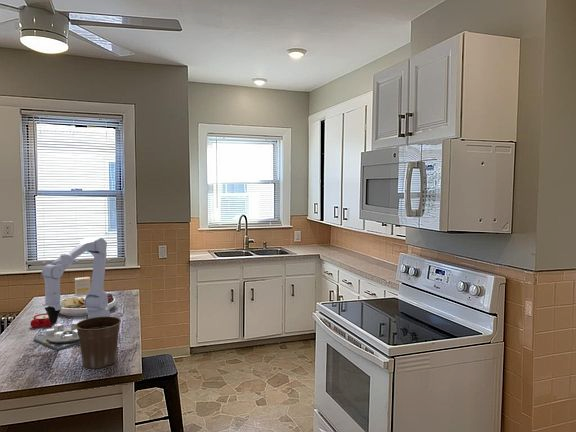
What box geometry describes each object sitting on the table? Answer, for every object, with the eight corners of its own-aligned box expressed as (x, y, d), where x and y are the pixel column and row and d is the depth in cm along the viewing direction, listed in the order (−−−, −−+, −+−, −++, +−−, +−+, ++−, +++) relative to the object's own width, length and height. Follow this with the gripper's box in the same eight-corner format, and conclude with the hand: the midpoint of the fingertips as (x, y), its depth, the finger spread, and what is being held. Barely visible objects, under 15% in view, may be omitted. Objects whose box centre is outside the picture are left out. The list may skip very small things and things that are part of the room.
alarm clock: (58, 312, 225) (52, 314, 211) (58, 325, 224) (51, 327, 210) (35, 313, 222) (27, 315, 208) (35, 326, 221) (27, 329, 207)
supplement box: (89, 297, 269) (89, 276, 268) (90, 299, 264) (90, 278, 264) (74, 299, 264) (74, 277, 264) (75, 301, 260) (75, 279, 259)
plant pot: (71, 373, 162) (70, 330, 160) (81, 356, 177) (80, 317, 176) (118, 369, 165) (117, 327, 164) (123, 353, 181) (123, 315, 180)
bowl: (62, 321, 222) (62, 306, 221) (50, 308, 245) (50, 294, 245) (122, 312, 241) (122, 297, 240) (106, 300, 264) (105, 287, 264)
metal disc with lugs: (38, 338, 194) (38, 329, 194) (74, 327, 208) (74, 319, 208) (60, 345, 185) (60, 336, 185) (96, 334, 199) (96, 326, 199)
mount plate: (77, 328, 211) (76, 326, 210) (101, 337, 199) (101, 334, 199) (33, 340, 194) (33, 337, 194) (57, 350, 183) (57, 347, 183)
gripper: (37, 290, 191) (38, 321, 192) (47, 297, 181) (48, 329, 182) (54, 288, 196) (55, 318, 197) (66, 294, 186) (66, 325, 187)
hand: (53, 323), depth 190 cm, fingers closed
